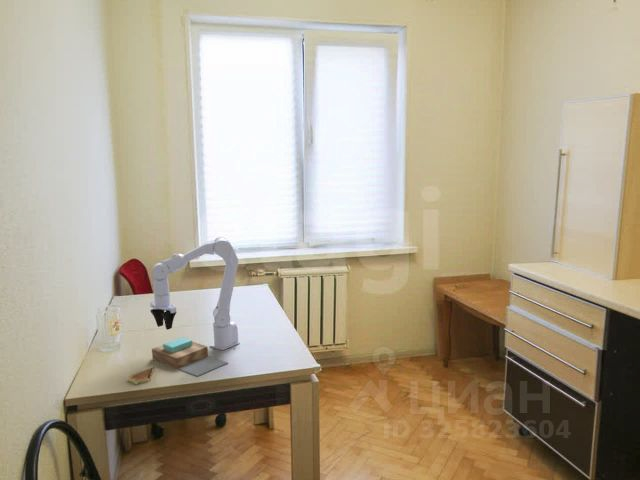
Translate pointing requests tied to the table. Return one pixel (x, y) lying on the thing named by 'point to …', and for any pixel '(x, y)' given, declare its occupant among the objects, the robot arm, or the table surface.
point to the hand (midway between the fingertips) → (164, 327)
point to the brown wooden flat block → (180, 355)
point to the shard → (141, 376)
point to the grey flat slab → (203, 366)
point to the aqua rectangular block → (177, 344)
